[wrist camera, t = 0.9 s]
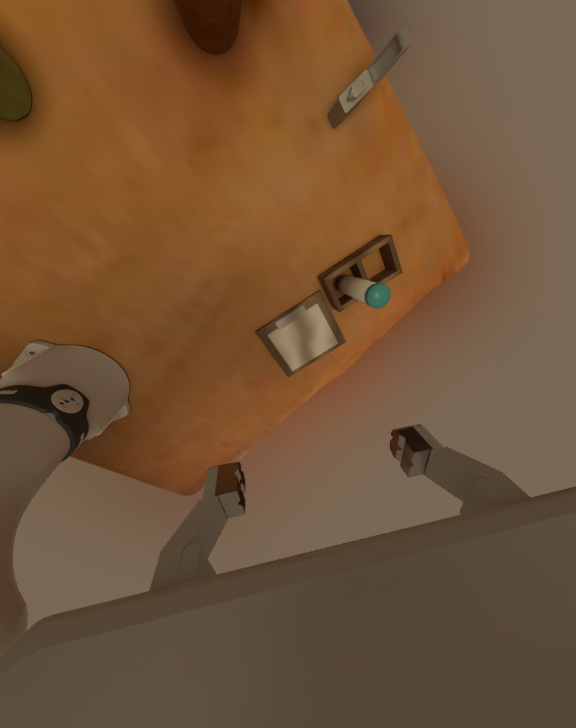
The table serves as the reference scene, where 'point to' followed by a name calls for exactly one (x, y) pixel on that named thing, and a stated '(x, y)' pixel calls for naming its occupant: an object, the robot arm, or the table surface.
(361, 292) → the marker
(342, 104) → the lighter
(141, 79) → the table surface
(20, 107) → the plant pot
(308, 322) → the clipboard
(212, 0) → the disposable coffee cup
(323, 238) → the table surface
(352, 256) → the box
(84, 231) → the table surface
